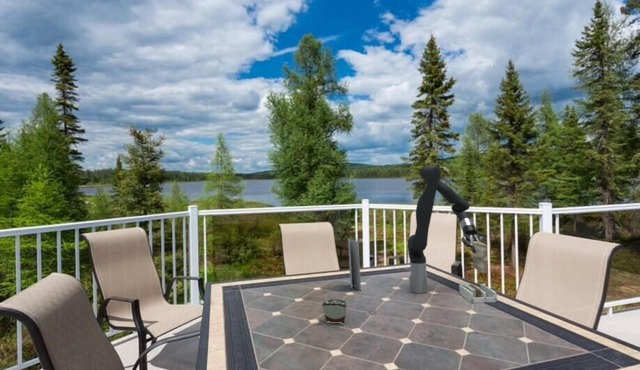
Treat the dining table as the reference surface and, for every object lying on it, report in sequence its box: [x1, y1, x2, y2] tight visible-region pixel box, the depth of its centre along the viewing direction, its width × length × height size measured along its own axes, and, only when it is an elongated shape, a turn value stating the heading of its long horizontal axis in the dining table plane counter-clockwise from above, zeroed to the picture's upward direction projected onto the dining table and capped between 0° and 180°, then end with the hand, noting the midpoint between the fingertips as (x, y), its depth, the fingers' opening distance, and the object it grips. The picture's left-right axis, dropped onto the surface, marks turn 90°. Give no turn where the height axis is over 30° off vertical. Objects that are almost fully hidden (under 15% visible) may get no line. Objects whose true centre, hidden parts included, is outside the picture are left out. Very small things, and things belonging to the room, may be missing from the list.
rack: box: [458, 283, 498, 304], centre depth 202 cm, size 13×17×5 cm
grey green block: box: [468, 284, 480, 298], centre depth 202 cm, size 2×10×6 cm, turn 0°
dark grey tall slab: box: [347, 238, 362, 291], centre depth 233 cm, size 14×6×30 cm, turn 179°
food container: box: [321, 298, 348, 324], centre depth 177 cm, size 12×6×10 cm, turn 71°
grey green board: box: [472, 241, 489, 274], centre depth 204 cm, size 3×12×15 cm, turn 179°
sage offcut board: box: [463, 284, 476, 298], centre depth 202 cm, size 2×10×6 cm, turn 0°
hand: (478, 252), depth 206 cm, fingers closed on grey green board, 3 cm apart
